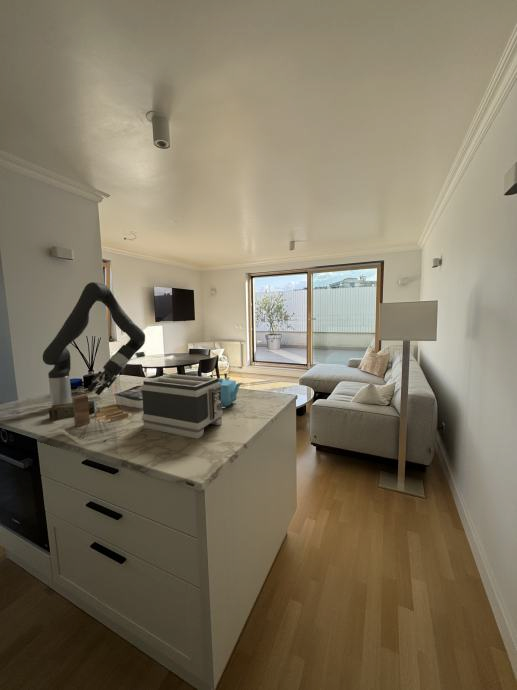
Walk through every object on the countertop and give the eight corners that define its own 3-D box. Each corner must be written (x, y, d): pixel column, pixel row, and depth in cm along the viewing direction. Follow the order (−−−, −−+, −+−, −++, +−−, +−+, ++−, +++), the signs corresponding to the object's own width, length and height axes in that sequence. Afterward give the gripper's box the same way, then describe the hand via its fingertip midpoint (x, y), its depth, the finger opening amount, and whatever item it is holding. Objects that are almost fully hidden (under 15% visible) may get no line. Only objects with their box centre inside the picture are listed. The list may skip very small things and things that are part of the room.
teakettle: (199, 403, 157) (198, 377, 156) (230, 398, 166) (229, 373, 165) (210, 413, 141) (209, 384, 139) (244, 406, 150) (243, 379, 148)
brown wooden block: (74, 426, 124) (72, 397, 123) (87, 423, 128) (84, 395, 127) (77, 428, 123) (75, 399, 121) (90, 424, 127) (87, 396, 125)
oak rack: (91, 418, 135) (90, 408, 135) (118, 411, 145) (117, 401, 145) (106, 426, 126) (105, 415, 125) (134, 417, 136) (133, 407, 135)
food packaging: (173, 388, 162) (141, 399, 142) (173, 401, 163) (142, 413, 142) (142, 384, 173) (108, 393, 153) (143, 396, 174) (109, 407, 154)
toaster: (207, 441, 109) (205, 388, 107) (142, 428, 123) (139, 381, 121) (231, 424, 125) (229, 378, 123) (171, 414, 140) (169, 373, 137)
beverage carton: (95, 415, 140) (94, 403, 139) (48, 422, 132) (47, 409, 132) (97, 411, 147) (96, 398, 147) (53, 417, 139) (51, 404, 139)
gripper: (103, 358, 138) (79, 385, 130) (117, 360, 129) (92, 390, 121) (115, 367, 143) (92, 394, 135) (129, 370, 134) (106, 399, 126)
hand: (92, 392), depth 128 cm, fingers open, 8 cm apart
